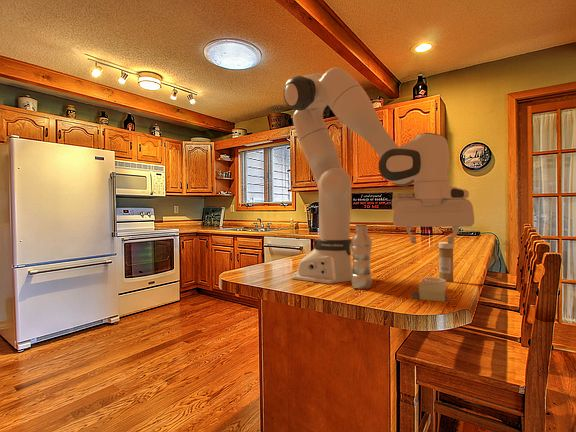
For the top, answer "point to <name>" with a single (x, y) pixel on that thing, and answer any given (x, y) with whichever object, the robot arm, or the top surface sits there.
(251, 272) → the top surface
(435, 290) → the cover
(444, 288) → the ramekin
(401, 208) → the robot arm
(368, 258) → the plastic bottle
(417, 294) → the mat
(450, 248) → the sprinkles bottle
